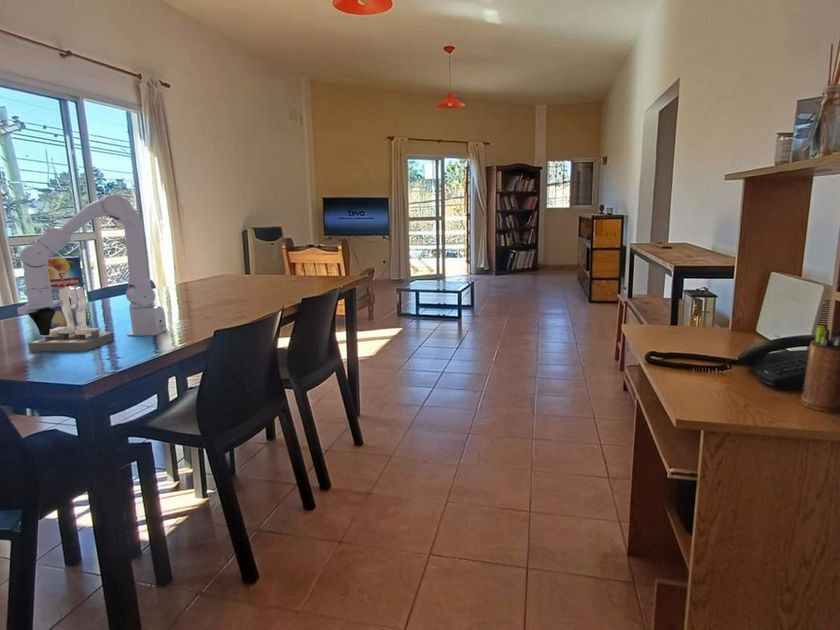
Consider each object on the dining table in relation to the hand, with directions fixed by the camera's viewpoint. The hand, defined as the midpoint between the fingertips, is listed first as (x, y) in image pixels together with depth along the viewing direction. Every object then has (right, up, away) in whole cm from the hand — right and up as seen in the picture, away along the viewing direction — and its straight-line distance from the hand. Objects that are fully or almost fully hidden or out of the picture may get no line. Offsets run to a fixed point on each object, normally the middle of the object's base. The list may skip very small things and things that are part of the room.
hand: (45, 334), depth 148 cm
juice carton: (-15, +2, +32) cm, 35 cm away
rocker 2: (+10, +1, +3) cm, 11 cm away
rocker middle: (+5, +1, +3) cm, 6 cm away
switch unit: (+5, -3, +4) cm, 8 cm away
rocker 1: (0, +1, +4) cm, 4 cm away
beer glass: (-5, 0, +21) cm, 22 cm away
